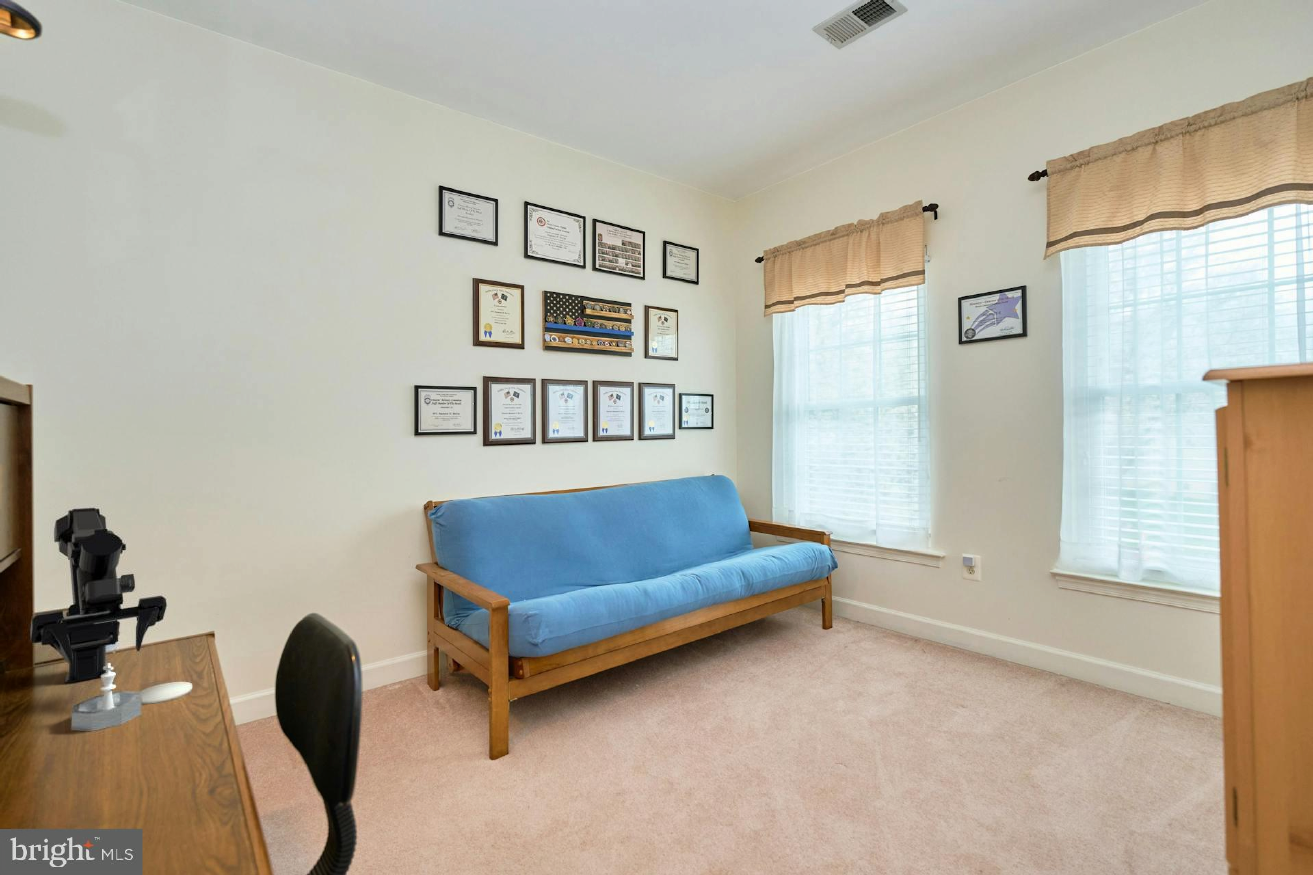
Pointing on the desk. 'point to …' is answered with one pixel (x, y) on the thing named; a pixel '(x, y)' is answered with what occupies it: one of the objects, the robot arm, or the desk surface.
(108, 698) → the chess piece
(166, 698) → the felt pad
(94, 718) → the ring collar
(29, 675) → the desk surface
